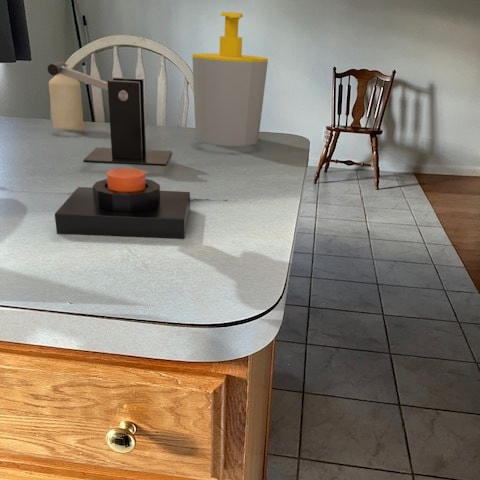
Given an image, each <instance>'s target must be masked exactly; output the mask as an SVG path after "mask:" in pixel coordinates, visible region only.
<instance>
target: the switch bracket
mask: <svg viewBox="0 0 480 480" xmlns="http://www.w3.org/2000/svg"><path fill="white" fill-rule="evenodd" d="M106 82H108V91H107V97H108V112H109V114H108V115H109V130H110V146H111V147H95V148H94V149H93V150H92V151H91V152H90V153H89V154H87V156H86V157H84V159H83V161H82V162H83V163H89V164H90V163H93V164H113V165H132V166H135V165H136V166H153V167H156V166H157V167H166V166H167V165H168V162H169V161H170V158H171V155H172V150H160V149H159V150H158V149H147V139H146V138H147V137H146V107H145V106H146V105H145V79H144V78H131V77H112V79H109V80H107V81H106Z"/></svg>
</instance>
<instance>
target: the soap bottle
mask: <svg viewBox="0 0 480 480" xmlns="http://www.w3.org/2000/svg"><path fill="white" fill-rule="evenodd" d="M220 17H224V35H220V36H219V49H218V50H219V51H218V53H213V52H212V53H211V52H207V53H205V52H199V53H193V54H192V57H191V58H192V59H191V60H192V76H193V77H192V82H193V83H192V85H193V104H194V105H193V106H194V107H193V109H194V130H195V131H194V132H195V140H197V141H198V142H201V143H204V144H208V145H213V146H214V145H215V146H222V147H223V146H224V147H225V146H226V147H245V146H252V145H256V144H258V143H259V140H260V139H259V137H260V129H261V121H262V114H263V105H264V96H265V89H266V79H267V71H268V64H269V59H268V57H265V56H257V55H248V54H242V53H243V52H242V51H243V37H241V36H239V20H240V19H241V18H243V17H244V15H243V13H241V12H232V11H231V12H230V11H222V12H221V13H220Z"/></svg>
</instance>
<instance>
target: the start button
mask: <svg viewBox="0 0 480 480" xmlns="http://www.w3.org/2000/svg"><path fill="white" fill-rule="evenodd" d="M106 179H107V184H108V189H110V190H114V191H125V192H131V191H140V190H143V189H146V181H145V179H146V172H145V171H143V170H141V169H139V168H128V167H125V168H124V167H121V168H113V169H110V170H108V171H106Z"/></svg>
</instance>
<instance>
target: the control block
mask: <svg viewBox="0 0 480 480" xmlns="http://www.w3.org/2000/svg"><path fill="white" fill-rule="evenodd" d="M145 181H146V189H143V190H140V191H131V192H125V191H114V190H110V189H108V184H107V178H104V179H101V180H98V181H95V182H94V184H93V185H92V187H88V186H87V187H85V186H78V187H76V189H75V190H74V191H73V193H72V194H71V195H70V196H69V197H68V198H67V199H66V200H65V201H64V203H62V205H61V206H60V207H59V208H58V209H57V210H56V211H55V213H54V220H55V229H56V234H57V235H71V236H73V235H74V236H95V237H96V236H97V237H101V236H102V237H121V238H122V237H123V238H144V239H145V238H146V239H169V240H170V239H172V240H185V238H186V237H185V236H186V231H187V227H188V222H189V216H190V212H191V192H190V191H177V190H176V191H175V190H161V185H160V184H159V183H158V182H156V181H155V180H152V179H148V178H145Z"/></svg>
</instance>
